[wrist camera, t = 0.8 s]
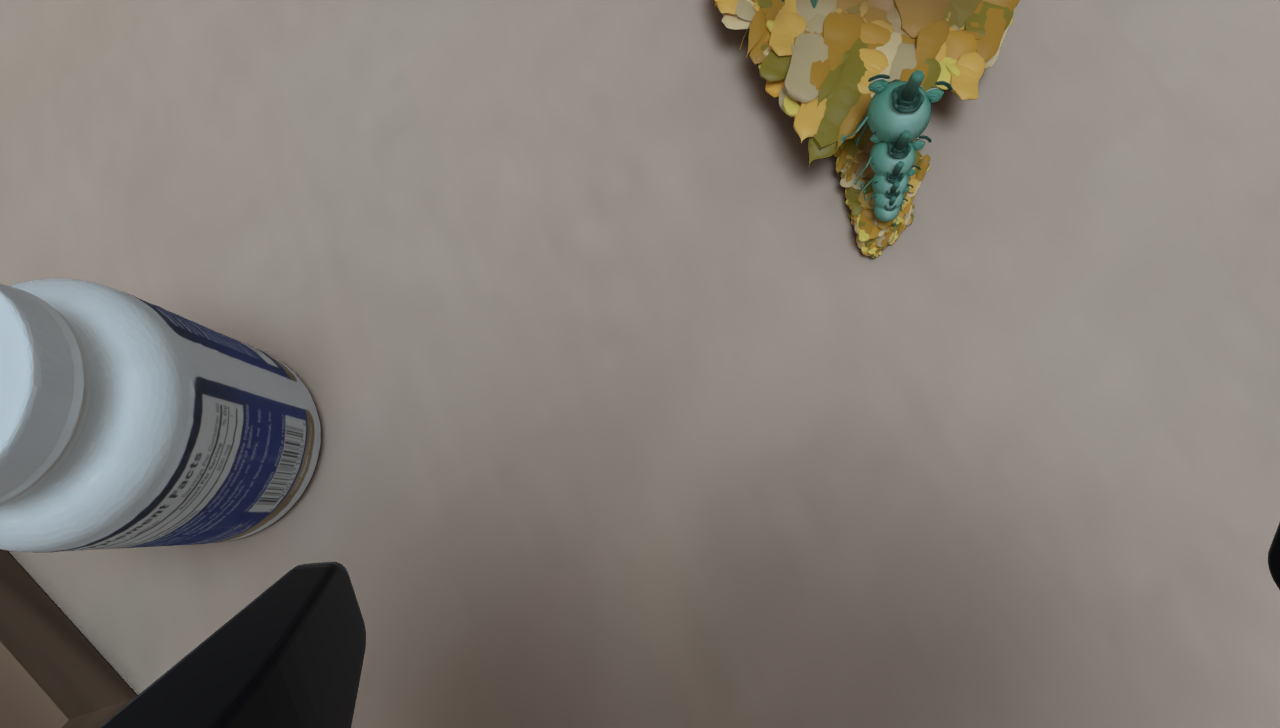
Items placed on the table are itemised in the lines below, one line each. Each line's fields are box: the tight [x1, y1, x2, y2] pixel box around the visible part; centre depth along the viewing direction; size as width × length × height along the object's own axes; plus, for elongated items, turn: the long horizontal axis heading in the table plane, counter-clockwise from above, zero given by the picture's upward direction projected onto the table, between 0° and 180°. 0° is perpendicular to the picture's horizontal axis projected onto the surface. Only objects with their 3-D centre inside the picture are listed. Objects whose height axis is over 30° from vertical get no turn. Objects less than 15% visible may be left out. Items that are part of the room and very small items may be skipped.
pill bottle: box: [0, 279, 321, 552], centre depth 17 cm, size 5×5×10 cm
